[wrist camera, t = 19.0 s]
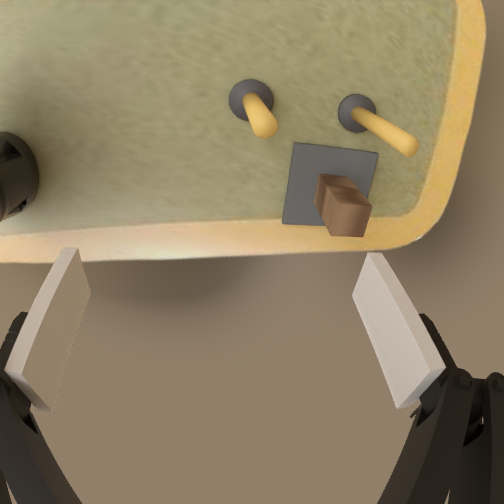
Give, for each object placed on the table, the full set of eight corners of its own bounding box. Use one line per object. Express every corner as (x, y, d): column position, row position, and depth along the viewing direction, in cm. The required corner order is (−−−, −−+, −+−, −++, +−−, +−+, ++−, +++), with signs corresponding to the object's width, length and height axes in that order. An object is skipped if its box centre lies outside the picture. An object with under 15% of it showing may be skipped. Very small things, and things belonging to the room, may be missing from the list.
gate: (227, 118, 42) (230, 154, 30) (230, 78, 39) (235, 93, 26) (369, 133, 45) (423, 174, 32) (376, 98, 42) (436, 127, 29)
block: (313, 201, 51) (331, 235, 43) (318, 173, 48) (339, 203, 40) (341, 203, 52) (363, 237, 44) (347, 176, 49) (372, 206, 41)
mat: (281, 222, 54) (282, 224, 53) (293, 142, 45) (294, 143, 45) (357, 225, 55) (358, 227, 55) (376, 152, 47) (378, 154, 47)
